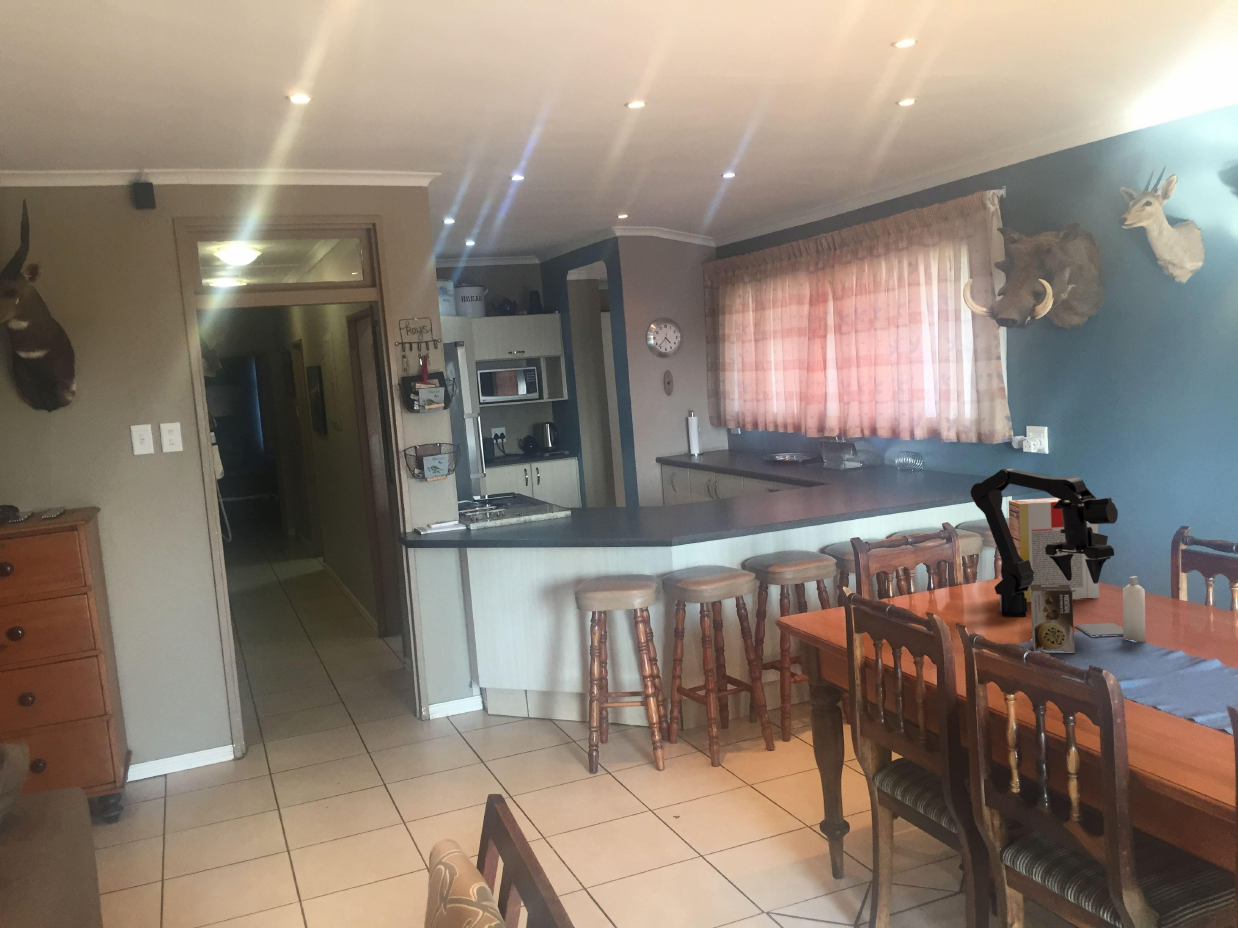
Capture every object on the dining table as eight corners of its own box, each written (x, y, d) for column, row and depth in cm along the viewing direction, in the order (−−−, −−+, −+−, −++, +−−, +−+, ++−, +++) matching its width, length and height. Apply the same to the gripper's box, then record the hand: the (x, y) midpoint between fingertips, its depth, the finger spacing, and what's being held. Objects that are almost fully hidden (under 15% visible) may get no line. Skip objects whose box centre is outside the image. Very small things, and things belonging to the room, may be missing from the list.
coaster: (1091, 637, 233) (1091, 634, 233) (1075, 626, 243) (1075, 624, 243) (1131, 635, 232) (1131, 633, 232) (1113, 625, 242) (1113, 622, 242)
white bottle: (1119, 639, 230) (1118, 577, 228) (1130, 635, 232) (1129, 574, 231) (1138, 643, 226) (1137, 579, 224) (1149, 639, 228) (1148, 576, 227)
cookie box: (1071, 646, 226) (1069, 584, 225) (1075, 654, 220) (1073, 590, 219) (1031, 645, 229) (1029, 583, 228) (1034, 653, 223) (1032, 589, 222)
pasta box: (1086, 591, 278) (1084, 496, 276) (1099, 598, 270) (1097, 499, 268) (1011, 596, 279) (1008, 500, 277) (1021, 602, 271) (1019, 504, 269)
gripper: (1127, 521, 235) (1134, 580, 235) (1073, 519, 253) (1080, 574, 253) (1092, 527, 232) (1100, 587, 232) (1040, 525, 250) (1047, 580, 250)
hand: (1082, 581), depth 242 cm, fingers open, 9 cm apart
